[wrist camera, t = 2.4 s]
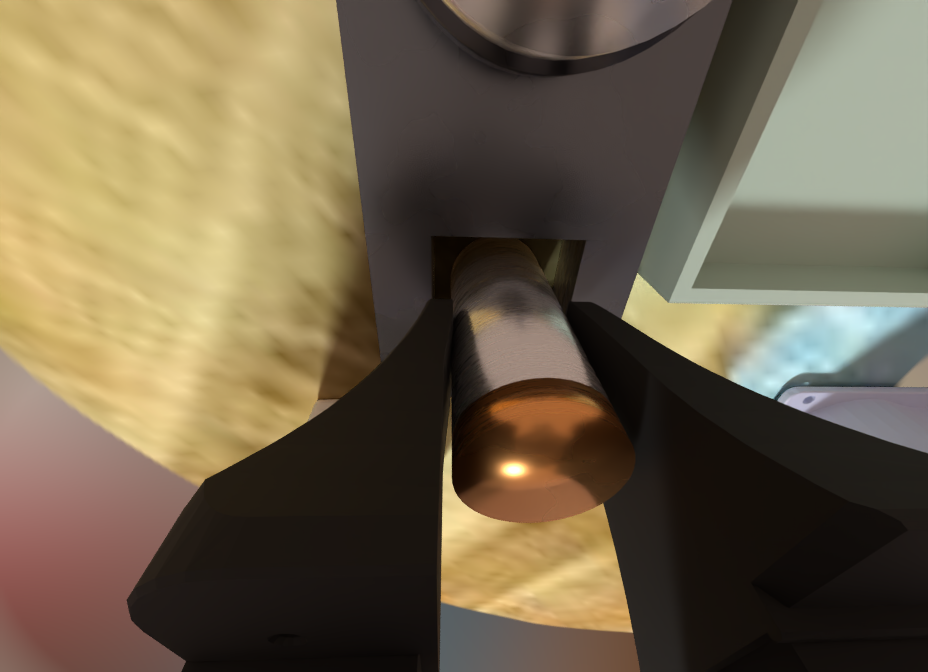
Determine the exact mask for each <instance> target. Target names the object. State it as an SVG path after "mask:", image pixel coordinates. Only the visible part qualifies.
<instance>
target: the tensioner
mask: <svg viewBox="0 0 928 672" xmlns="http://www.w3.org/2000/svg"><path fill="white" fill-rule="evenodd" d="M732 1H733V0H336V3H337V11H338V19H339V27H340V35H341V43H342V51H343V59H344V67H345V75H346V83H347V92H348V100H349V108H350V116H351V124H352V132H353V140H354V148H355V156H356V164H357V172H358V180H359V188H360V196H361V204H362V212H363V220H364V228H365V236H366V244H367V252H368V261H369V269H370V277H371V285H372V293H373V301H374V309H375V317H376V325H377V333H378V341H379V349H380V357H381V362H382V361H383V360H384V359H385V358H386V357H387V356H388V355H389V354H390V352H391V351H392V350H393V349H394V348H395V347H396V346H397V345H398V343H399V342H400V341H401V340H402V339H403V337H404V336H405V335H406V333H407V332H408V331H409V329H410V328H411V327H412V325H413V324H414V323H415V321H416V320H417V318H418V317H419V315H420V313H421V312H422V310H423V308H424V307H425V305H426V302H428V301H429V300H430V299H434V236H456V237H493V238H529V239H563V241H562V246H561V251H560V256H559V260H558V265H557V270H556V275H555V280H554V285H553V292H554V294H555V296H556V298H557V300H558V302H559V304H560V306H561V308H562V310H563V312H564V314H565V316H566V314H567V310H568V305H569V301H574V302H593V303H595V304H597V305H599V306H601V307H602V308H604V309H606V310H607V311H609V312H611V313H612V314H614V315H615V316H617V317H619V318H620V319H621V318H622V315H623V312H624V309H625V306H626V303H627V300H628V298H629V295H630V292H631V289H632V286H633V283H634V280H635V278H636V275H637V272H638V269H639V266H640V263H641V260H642V258H643V255H644V252H645V249H646V246H647V243H648V240H649V238H650V235H651V232H652V229H653V226H654V223H655V221H656V218H657V215H658V212H659V209H660V206H661V203H662V201H663V198H664V195H665V192H666V189H667V186H668V183H669V181H670V178H671V175H672V172H673V169H674V166H675V163H676V161H677V158H678V155H679V152H680V149H681V146H682V143H683V141H684V138H685V135H686V132H687V129H688V126H689V123H690V121H691V118H692V115H693V112H694V109H695V106H696V103H697V101H698V98H699V95H700V92H701V89H702V86H703V83H704V81H705V78H706V75H707V72H708V69H709V66H710V63H711V61H712V58H713V55H714V52H715V49H716V46H717V43H718V41H719V38H720V35H721V32H722V29H723V26H724V23H725V21H726V18H727V15H728V12H729V9H730V6H731V3H732ZM451 397H452V392H451Z"/></svg>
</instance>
